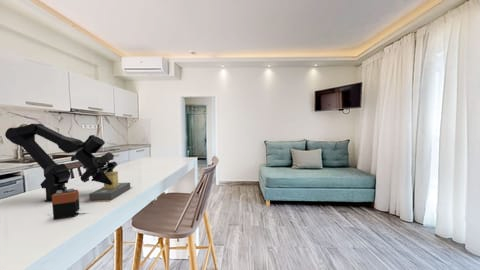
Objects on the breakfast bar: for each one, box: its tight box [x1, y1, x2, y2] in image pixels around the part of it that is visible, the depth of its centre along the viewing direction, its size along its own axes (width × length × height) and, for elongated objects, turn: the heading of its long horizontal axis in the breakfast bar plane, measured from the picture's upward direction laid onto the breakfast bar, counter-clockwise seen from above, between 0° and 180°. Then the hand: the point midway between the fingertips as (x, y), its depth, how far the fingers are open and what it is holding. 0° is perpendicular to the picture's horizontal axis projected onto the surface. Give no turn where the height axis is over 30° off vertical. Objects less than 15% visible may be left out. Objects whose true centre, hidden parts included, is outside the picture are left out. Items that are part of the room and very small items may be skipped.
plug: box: [103, 170, 119, 189], centre depth 97 cm, size 4×4×10 cm
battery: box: [51, 188, 81, 220], centre depth 78 cm, size 4×7×10 cm, turn 111°
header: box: [85, 182, 134, 204], centre depth 97 cm, size 10×20×5 cm, turn 1°
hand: (114, 183), depth 97 cm, fingers closed on plug, 4 cm apart
